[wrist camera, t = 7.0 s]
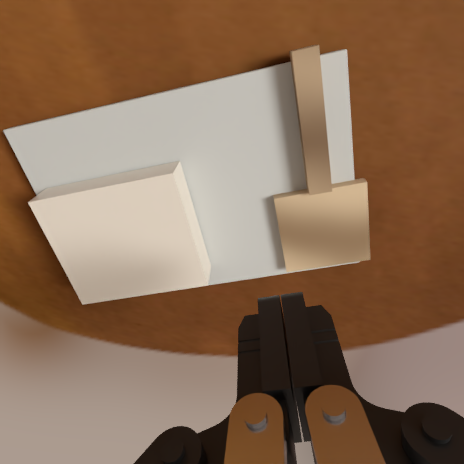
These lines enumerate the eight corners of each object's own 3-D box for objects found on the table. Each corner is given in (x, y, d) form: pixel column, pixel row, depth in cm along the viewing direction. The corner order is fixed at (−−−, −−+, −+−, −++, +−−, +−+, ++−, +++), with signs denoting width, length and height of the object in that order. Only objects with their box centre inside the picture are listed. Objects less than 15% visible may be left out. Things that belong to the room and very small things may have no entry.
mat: (9, 127, 19) (3, 130, 19) (343, 49, 17) (347, 49, 16) (95, 297, 25) (92, 302, 24) (356, 256, 22) (359, 262, 22)
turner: (249, 60, 17) (249, 61, 16) (357, 34, 16) (363, 34, 15) (285, 266, 22) (287, 276, 21) (367, 254, 22) (372, 263, 21)
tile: (180, 160, 19) (47, 187, 20) (172, 173, 17) (27, 202, 18) (211, 265, 22) (95, 283, 24) (207, 285, 21) (82, 304, 22)
